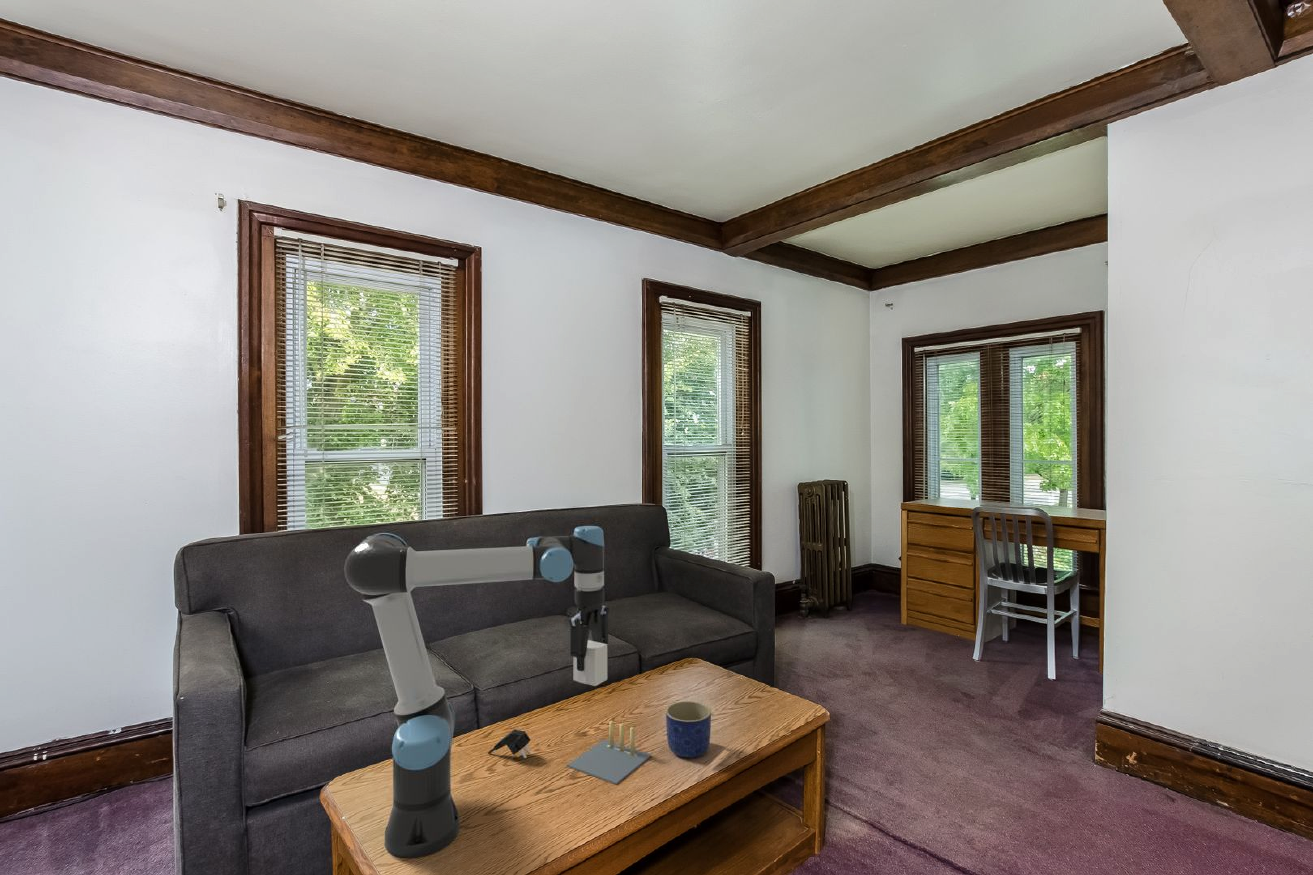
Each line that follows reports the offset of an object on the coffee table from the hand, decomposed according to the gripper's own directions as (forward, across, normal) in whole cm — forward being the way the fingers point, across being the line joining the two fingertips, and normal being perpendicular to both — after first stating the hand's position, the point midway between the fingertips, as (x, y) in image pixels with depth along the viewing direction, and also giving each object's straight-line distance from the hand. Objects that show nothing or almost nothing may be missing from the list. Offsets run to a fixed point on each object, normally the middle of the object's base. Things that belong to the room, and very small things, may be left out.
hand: (590, 678), depth 156 cm
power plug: (+27, -6, +29) cm, 40 cm away
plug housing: (0, 0, 0) cm, 0 cm away
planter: (+25, +24, -15) cm, 38 cm away
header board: (+25, +8, 0) cm, 26 cm away
